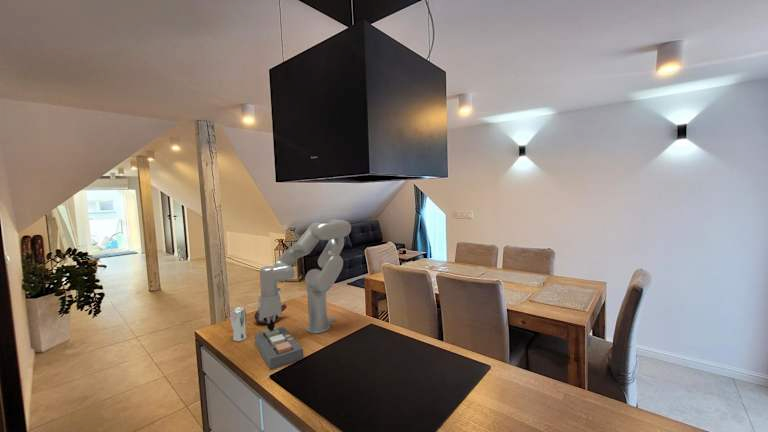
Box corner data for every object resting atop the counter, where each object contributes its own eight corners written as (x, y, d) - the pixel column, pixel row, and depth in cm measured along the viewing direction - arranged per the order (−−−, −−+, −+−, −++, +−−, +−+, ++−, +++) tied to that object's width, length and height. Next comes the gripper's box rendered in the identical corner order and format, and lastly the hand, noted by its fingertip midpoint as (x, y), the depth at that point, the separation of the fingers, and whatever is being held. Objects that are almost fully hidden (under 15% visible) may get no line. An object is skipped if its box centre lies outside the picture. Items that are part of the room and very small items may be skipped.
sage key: (276, 333, 156) (276, 327, 156) (279, 337, 151) (279, 331, 151) (264, 336, 153) (264, 330, 153) (267, 340, 148) (267, 334, 148)
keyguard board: (284, 334, 160) (283, 326, 160) (303, 358, 137) (302, 348, 137) (255, 343, 153) (254, 333, 152) (270, 369, 130) (269, 358, 129)
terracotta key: (287, 347, 141) (287, 341, 141) (291, 352, 137) (291, 346, 136) (275, 351, 138) (274, 345, 138) (278, 357, 133) (278, 350, 133)
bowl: (265, 328, 169) (264, 314, 168) (250, 323, 175) (249, 309, 175) (288, 317, 182) (288, 304, 182) (274, 313, 189) (273, 300, 188)
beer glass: (241, 342, 154) (239, 312, 153) (229, 341, 155) (226, 311, 154) (250, 335, 161) (248, 307, 159) (238, 334, 162) (236, 306, 161)
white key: (281, 340, 149) (281, 333, 148) (285, 344, 144) (285, 338, 144) (269, 343, 145) (269, 337, 145) (273, 348, 141) (272, 342, 141)
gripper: (282, 287, 157) (284, 323, 159) (250, 293, 149) (253, 331, 151) (287, 291, 151) (289, 328, 153) (254, 298, 143) (256, 337, 144)
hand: (271, 329), depth 152 cm, fingers closed
